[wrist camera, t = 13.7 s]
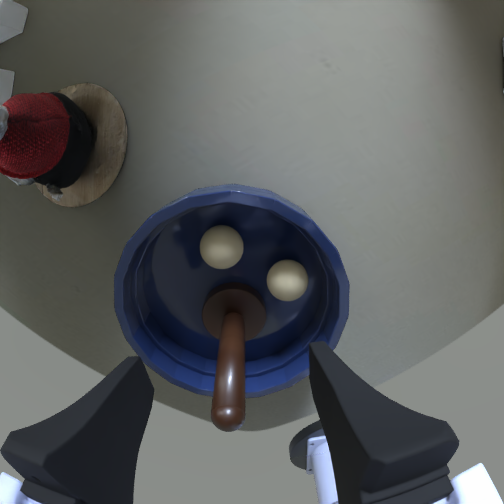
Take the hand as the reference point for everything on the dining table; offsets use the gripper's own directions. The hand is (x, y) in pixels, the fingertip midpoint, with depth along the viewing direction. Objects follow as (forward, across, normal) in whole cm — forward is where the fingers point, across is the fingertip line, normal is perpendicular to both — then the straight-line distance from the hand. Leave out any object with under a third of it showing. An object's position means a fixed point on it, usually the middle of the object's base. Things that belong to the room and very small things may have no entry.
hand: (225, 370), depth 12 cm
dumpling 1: (+6, 0, -3) cm, 7 cm away
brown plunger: (+7, 0, +1) cm, 7 cm away
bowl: (+8, 0, 0) cm, 8 cm away
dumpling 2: (+6, -3, -1) cm, 7 cm away
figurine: (+8, +9, -11) cm, 16 cm away
